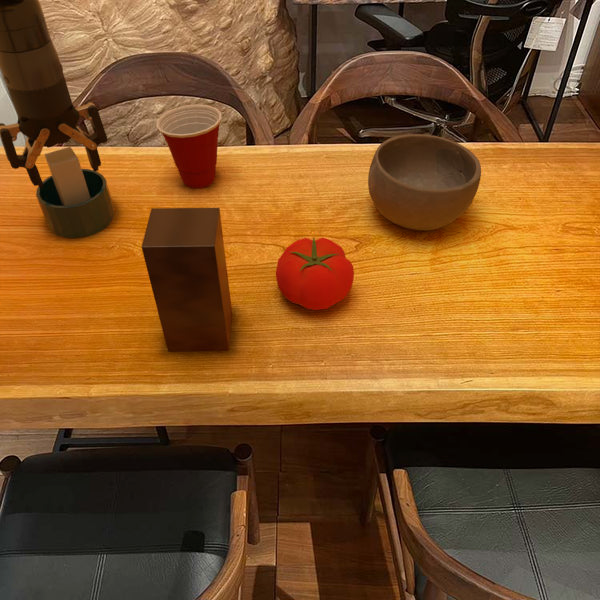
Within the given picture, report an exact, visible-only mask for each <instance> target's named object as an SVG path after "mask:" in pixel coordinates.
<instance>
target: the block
mask: <svg viewBox="0 0 600 600" xmlns="http://www.w3.org/2000/svg"><path fill="white" fill-rule="evenodd" d="M44 157H45V160H46V164H47V166H48V168H49V171H50V174H51V176H52V177H53V180H54V183H55V186H56V188H57V191H58V194H59V197H60V200H61V203H62V205H63V206H70V205H76V204H80V203H83V202H86V201H88V200H89V199H91V198H90V195H89V191H88V188H87V185H86V182H85V179H84V175H83V172H82V169H83V168H82V165H81V163H80V159H79V158H78V157H79V156H77V155H76V153H75V151H74V150H73V149H72V147H71V146H67V147H64V148H60V149H57V150H54V151H51V152H47V153H44Z"/></svg>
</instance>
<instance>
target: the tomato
mask: <svg viewBox="0 0 600 600" xmlns="http://www.w3.org/2000/svg"><path fill="white" fill-rule="evenodd" d="M354 269H355V268H354V266H353V264H352V262H351V260H349V259H348V258H346V253H345V250H344V248H343V247H342V246H341V245H339V244H338V243H336V242H335V241H333V240H331V239H329V238H325V237H320V238H318V239H315V236H313V238H312V239H310V238H308V237H304V238H301V239H297V240H296V241H294V242H292V243H291V244H289V245H288V246H287V247H286V248H285V249H284V251H283V253H282V254H281V255H280V256H279V258H278V260H277V264H276V269H275V279H276V283H277V288H278V290H279V291H280V292H281V294H282V295H283V296H284V297H285V299H286V300H288V301H290V302H291V303H293V304H295V305H296V304H297V305H301V306H302V307H304V308H305V309H307V310H314V311H317V310H327V309H329V308H331V307H333V306H334V305H336V304H337V303H340V302H341V301H343V300H345V298H346V297H347V296H348V295H349V292H350V291H351V289H352V287H353V283H354V276H355V271H354Z"/></svg>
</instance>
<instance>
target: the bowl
mask: <svg viewBox="0 0 600 600" xmlns="http://www.w3.org/2000/svg"><path fill="white" fill-rule="evenodd" d="M481 177H482V166H481V162H480V160H479V159H478V157H477V156H476V155H475V154H474V153H473V151H471V150H470V149H468V148H467V147H466V146H464V145H462V144H461V143H458V142H456V141H454V140H451V139H448V138H446V137H441V136H437V135H433V134H421V133H412V134H411V133H408V134H400V135H396V136H392V137H390V138H388V139H386V140H384V141H383V142H382V143H380V145H379V146H378V147H377V149H376V150H375V152H374V155H373V157H372V160H371V164H370V166H369V171H368V177H367V185H368V186H367V187H368V192H369V196H370V199H371V201H372V203H373V204H374V207H375V208H376V209H377V211H378V212H379V213H380V215H382V216H383V217H384V218H385V219H386V220H388V221H390V222H391V223H393V224H395V225H397V226H400V227H403V228H405V229H409V230H415V231H434V230H437V229H440V228H444V227H446V226H448V225H450V224H451V223H453V222H454V221H456V220H457V219H458V218H460V217H461V216H462V215H463V214H464V213H465V212H466V211H467V210H468V208H470V206H471V205H472V204H473V200H474V199H475V197H476V195H477V193H478V190H479V186H480V183H481Z"/></svg>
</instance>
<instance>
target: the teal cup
mask: <svg viewBox="0 0 600 600" xmlns="http://www.w3.org/2000/svg"><path fill="white" fill-rule="evenodd" d="M81 169H82V172H83V175H84V179H85V182H86V185H87V188H88V191H89V195H90V198H91V199H89V200H88V201H86V202H83V203H80V204H76V205H70V206H63V205H62V203H61V200H60V197H59V194H58V191H57V188H56V186H55V183H54V180H53V177H52V175H49V176H48V177H46V178H45V179H44V180H42V182H43V185H44V187H43V188H39V186H38V187H37V188H36V193H35V195H36V196H35V197H36V199H37V202H38V204H39V206H40V209H41V212H42V214H43V217H44V219H45V222H46V224H47V226H48V228H49V230H50V231H51V232H52V233H53V234H54V235H56V236H58V237H61V238H65V239H81V238H86V237H89V236H94V235H96V234H98V233H100V232H102V231H103V230H105V229H106V228H108V227H109V225H110V224H111V223H112V222H113V220H114V218H115V207H114V203H113V199H112V196H111V193H110V189H109V185H108V182H107V179H106V178H105V176H104V174H102V173H100V171H99V172H98V171H94V170H93V169H90V168H81Z"/></svg>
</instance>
